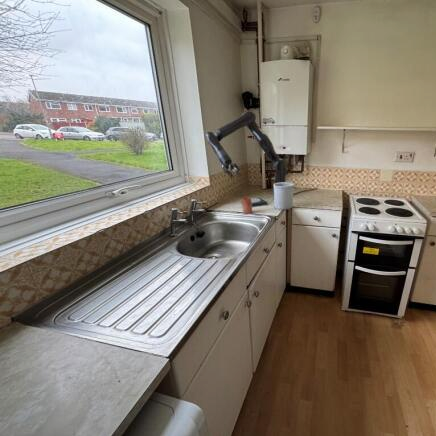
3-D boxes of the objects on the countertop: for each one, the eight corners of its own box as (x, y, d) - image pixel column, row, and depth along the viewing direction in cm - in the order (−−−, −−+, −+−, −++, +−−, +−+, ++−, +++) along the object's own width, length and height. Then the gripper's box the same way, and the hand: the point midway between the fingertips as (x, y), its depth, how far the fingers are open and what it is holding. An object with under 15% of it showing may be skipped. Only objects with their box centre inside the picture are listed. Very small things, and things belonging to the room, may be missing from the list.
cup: (250, 210, 168) (249, 196, 164) (253, 212, 163) (252, 198, 159) (242, 211, 165) (240, 198, 162) (244, 214, 160) (243, 200, 156)
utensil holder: (297, 207, 173) (297, 184, 167) (280, 211, 166) (279, 187, 160) (287, 203, 185) (287, 181, 179) (270, 206, 177) (269, 183, 172)
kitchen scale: (260, 200, 194) (260, 197, 193) (267, 204, 182) (267, 201, 181) (241, 203, 186) (241, 199, 185) (247, 207, 175) (247, 203, 174)
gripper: (219, 154, 156) (232, 174, 155) (233, 154, 168) (245, 172, 168) (213, 161, 159) (226, 180, 159) (227, 160, 172) (239, 178, 171)
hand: (236, 176), depth 163 cm, fingers open, 8 cm apart
